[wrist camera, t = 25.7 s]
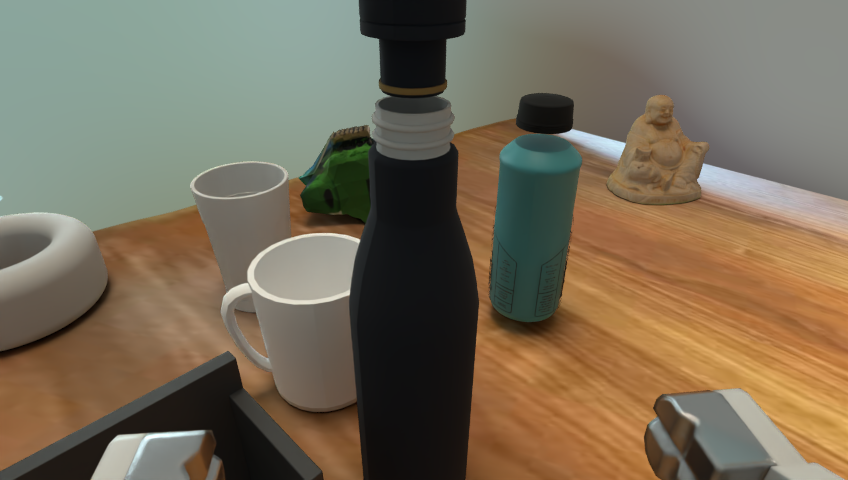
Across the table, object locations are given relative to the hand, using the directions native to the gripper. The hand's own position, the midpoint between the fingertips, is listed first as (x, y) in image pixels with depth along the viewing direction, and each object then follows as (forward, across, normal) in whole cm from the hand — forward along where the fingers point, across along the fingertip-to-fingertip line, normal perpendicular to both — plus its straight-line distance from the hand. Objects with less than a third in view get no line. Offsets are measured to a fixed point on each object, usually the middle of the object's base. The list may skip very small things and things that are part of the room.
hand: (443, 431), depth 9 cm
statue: (+55, -38, +22) cm, 70 cm away
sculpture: (+53, +4, +22) cm, 58 cm away
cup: (+35, +12, +22) cm, 44 cm away
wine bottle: (+14, -1, +22) cm, 26 cm away
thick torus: (+35, +34, +22) cm, 54 cm away
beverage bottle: (+30, -12, +22) cm, 39 cm away
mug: (+24, +6, +22) cm, 33 cm away
